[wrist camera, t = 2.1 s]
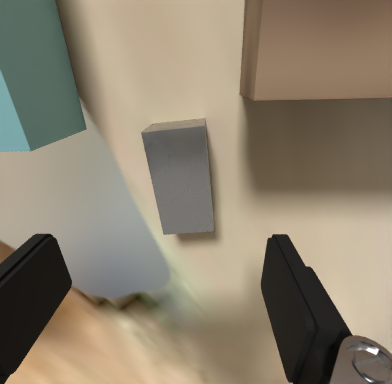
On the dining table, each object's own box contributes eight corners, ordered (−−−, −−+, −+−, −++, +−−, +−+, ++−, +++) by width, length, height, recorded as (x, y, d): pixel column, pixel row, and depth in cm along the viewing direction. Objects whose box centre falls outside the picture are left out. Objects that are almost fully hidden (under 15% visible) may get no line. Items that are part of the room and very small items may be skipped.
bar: (152, 123, 17) (141, 132, 14) (204, 117, 16) (204, 125, 13) (169, 211, 20) (163, 234, 17) (212, 208, 20) (214, 231, 17)
